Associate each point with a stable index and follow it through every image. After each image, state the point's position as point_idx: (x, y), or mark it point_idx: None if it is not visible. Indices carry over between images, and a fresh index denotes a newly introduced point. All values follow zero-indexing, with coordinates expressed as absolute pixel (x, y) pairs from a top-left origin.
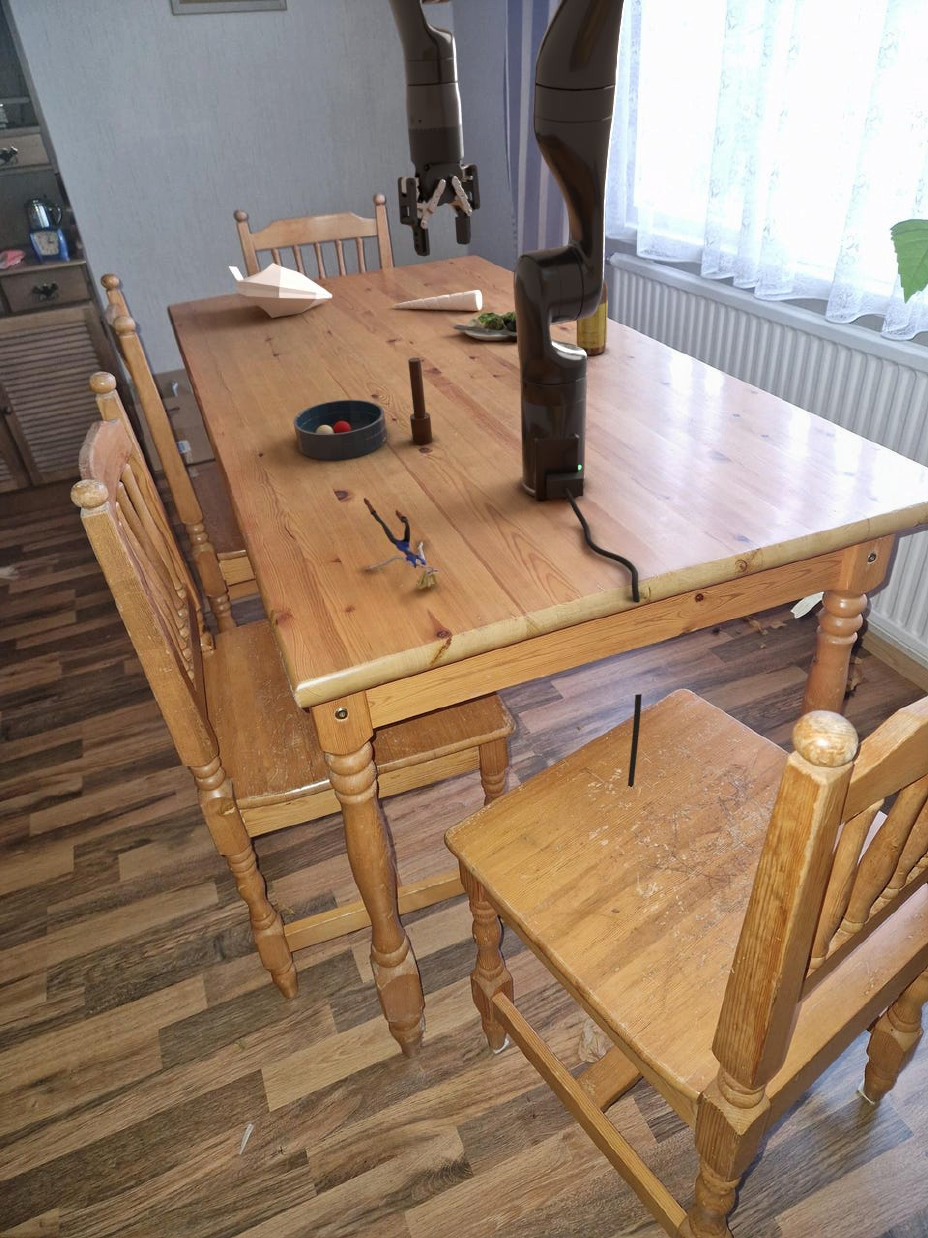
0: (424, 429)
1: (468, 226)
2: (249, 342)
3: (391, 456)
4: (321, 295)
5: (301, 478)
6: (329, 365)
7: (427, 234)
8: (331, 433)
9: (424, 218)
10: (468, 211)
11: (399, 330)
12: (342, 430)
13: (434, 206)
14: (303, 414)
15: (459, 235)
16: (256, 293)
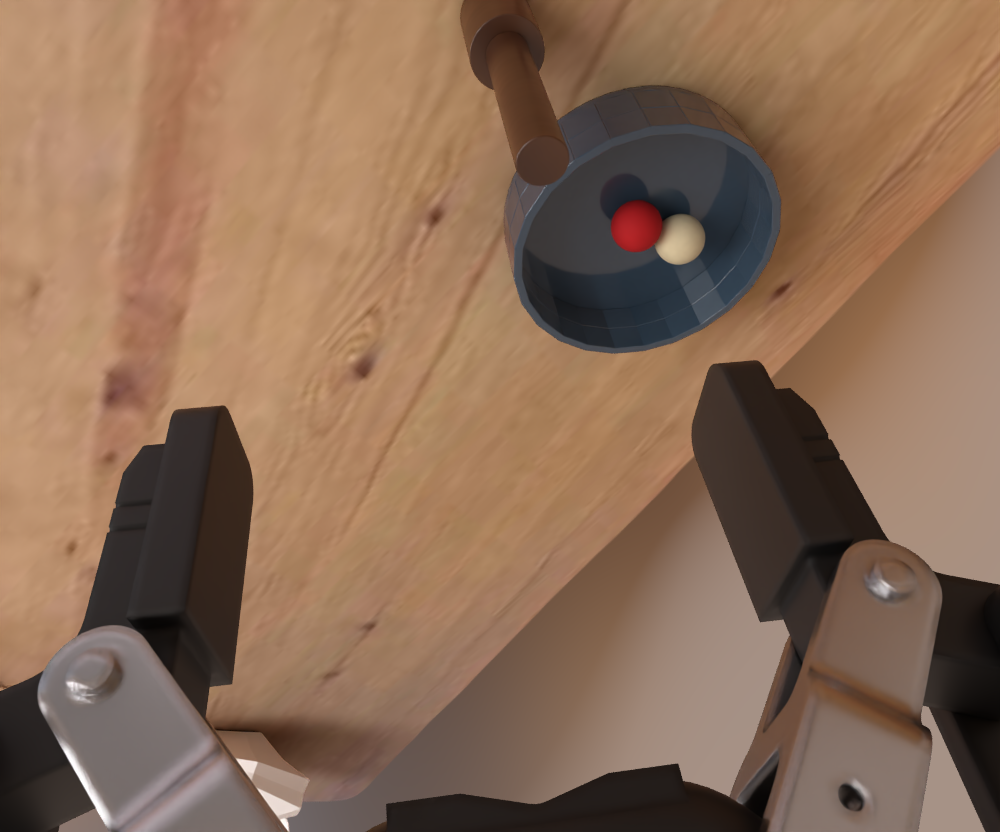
0: (517, 1)
1: (159, 529)
2: (365, 679)
3: (643, 5)
4: None
5: (870, 106)
6: (322, 548)
7: (797, 490)
8: (679, 222)
9: (909, 628)
10: (117, 676)
11: (57, 607)
12: (655, 212)
13: (835, 747)
14: (665, 335)
15: (239, 510)
16: (292, 780)
